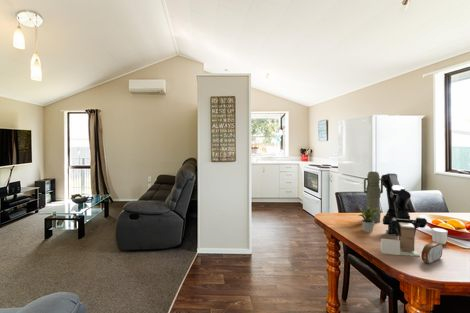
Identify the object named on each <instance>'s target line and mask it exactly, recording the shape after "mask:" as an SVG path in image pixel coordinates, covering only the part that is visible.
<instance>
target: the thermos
mask: <svg viewBox="0 0 470 313" xmlns="http://www.w3.org/2000/svg"><path fill="white" fill-rule="evenodd" d="M366 175H367V176H366V178H364V179H363V192H364V193H365V195H366V206H367V208H368V207H369V206H370V208H371V210H370V211H373V210H374V209H376V208H378V209H376V210H377V211H375V212H376V214H375V212H374V213H373V214H374V215H375V216H377V217H376V218H375V217H373V218H371V220H373V221H374V224H375V223H380V222H381V209H380V206H381V204H380V203H381V201H380V198H381V195H382V194H383V193H384V186H383V183H382V182H381V177H380V173H379V172H378V171H368V173H367V174H366ZM366 182H367V183H366ZM367 208H366V210H365V211H367ZM371 213H372V212H370V214H371ZM373 214H372V215H373ZM378 216H379V218H378Z"/></svg>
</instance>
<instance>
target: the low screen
mask: <svg viewBox="0 0 470 313" xmlns="http://www.w3.org/2000/svg"><path fill="white" fill-rule="evenodd" d="M380 253H381V254H387V255H395V256H400V240H398V239H392V238H391V239H389V238H380Z"/></svg>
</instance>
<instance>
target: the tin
mask: <svg viewBox="0 0 470 313" xmlns="http://www.w3.org/2000/svg"><path fill="white" fill-rule="evenodd" d="M443 248H444V244H441V243H439V242H436V241H433V240H432V241H431V242H429V243H426V244H424V245H423V248H422V250H421V255H420V258H421V261H422V262H425V263H428V264H433V263H435V262H436V261H439V260H440V259H441V257H442V256H443Z"/></svg>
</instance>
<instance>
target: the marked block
mask: <svg viewBox="0 0 470 313" xmlns="http://www.w3.org/2000/svg"><path fill="white" fill-rule="evenodd" d="M399 228H400V232H401V236H399V235H398V239H397V240H400V249H401V250H406V251H414V249H415V239H416V238H415V236H416V232H415V227H414V226H413V225H412V224H411V223H402V222H399Z"/></svg>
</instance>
